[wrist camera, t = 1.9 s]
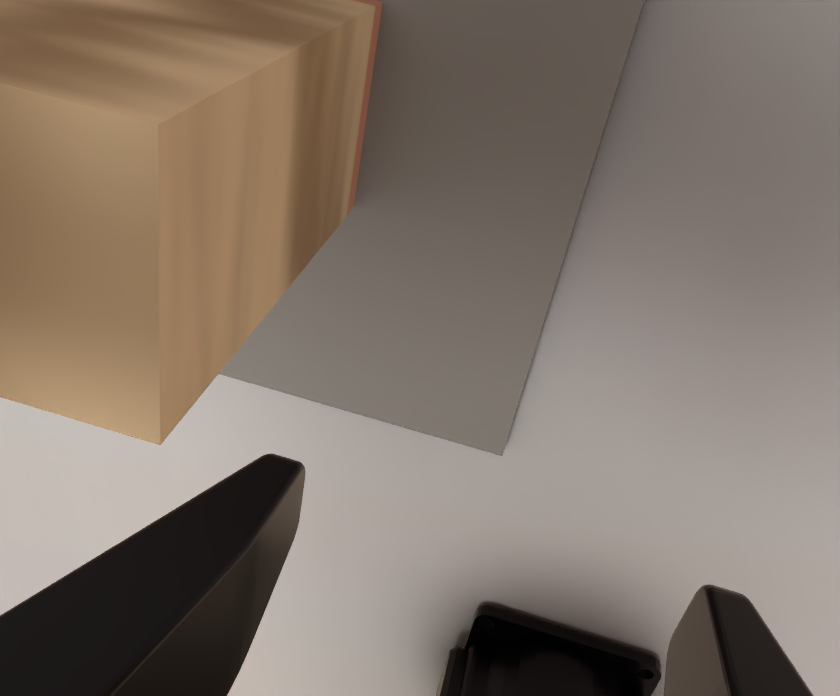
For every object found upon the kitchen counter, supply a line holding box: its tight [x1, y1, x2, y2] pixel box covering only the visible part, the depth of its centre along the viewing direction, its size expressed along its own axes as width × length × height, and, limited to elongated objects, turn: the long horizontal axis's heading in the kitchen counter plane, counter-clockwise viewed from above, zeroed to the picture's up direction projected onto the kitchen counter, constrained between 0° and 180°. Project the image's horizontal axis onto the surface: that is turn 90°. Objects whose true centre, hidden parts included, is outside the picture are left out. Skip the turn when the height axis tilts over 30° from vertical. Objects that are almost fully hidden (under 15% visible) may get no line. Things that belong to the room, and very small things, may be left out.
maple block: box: [0, 0, 383, 445], centre depth 15 cm, size 5×5×10 cm
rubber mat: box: [219, 0, 644, 456], centre depth 19 cm, size 22×18×2 cm
